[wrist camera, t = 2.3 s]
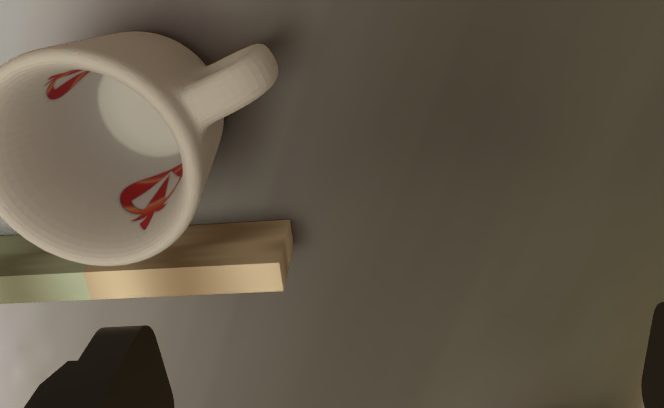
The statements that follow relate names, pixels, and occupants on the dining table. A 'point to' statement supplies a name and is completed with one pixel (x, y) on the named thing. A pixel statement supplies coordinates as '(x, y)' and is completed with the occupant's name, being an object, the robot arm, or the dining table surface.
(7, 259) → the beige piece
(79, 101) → the cup
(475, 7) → the dining table surface
